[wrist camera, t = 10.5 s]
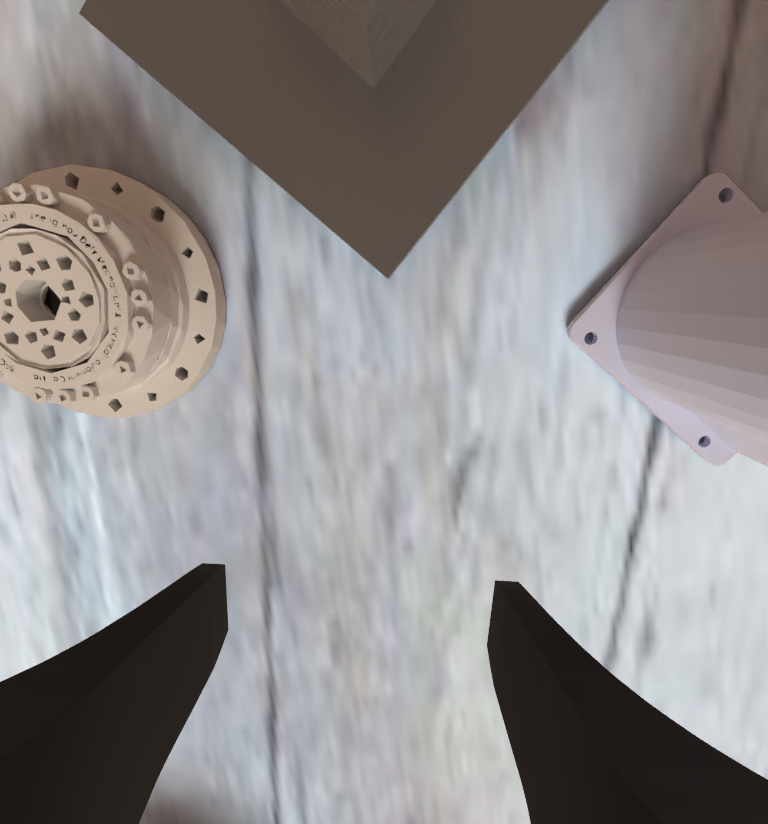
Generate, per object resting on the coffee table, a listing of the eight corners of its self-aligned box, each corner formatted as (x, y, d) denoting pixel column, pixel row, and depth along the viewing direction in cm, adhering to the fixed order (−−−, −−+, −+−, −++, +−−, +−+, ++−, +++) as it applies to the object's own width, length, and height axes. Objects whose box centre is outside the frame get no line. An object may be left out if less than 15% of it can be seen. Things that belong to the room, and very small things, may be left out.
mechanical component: (213, 168, 18) (-25, 178, 18) (156, 129, 14) (-152, 144, 14) (241, 406, 21) (32, 412, 21) (200, 436, 16) (-62, 442, 17)
